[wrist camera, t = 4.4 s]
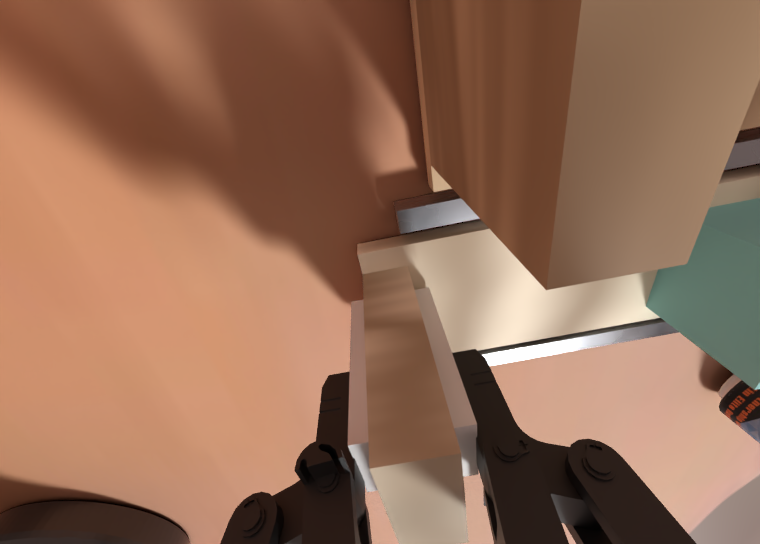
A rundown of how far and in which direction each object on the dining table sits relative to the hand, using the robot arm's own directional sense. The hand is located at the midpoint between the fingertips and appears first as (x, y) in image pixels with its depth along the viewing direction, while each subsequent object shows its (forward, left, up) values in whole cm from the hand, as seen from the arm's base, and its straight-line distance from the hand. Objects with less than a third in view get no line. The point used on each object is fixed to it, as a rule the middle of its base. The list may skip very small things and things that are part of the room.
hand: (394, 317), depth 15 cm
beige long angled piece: (+9, 0, -2) cm, 9 cm away
